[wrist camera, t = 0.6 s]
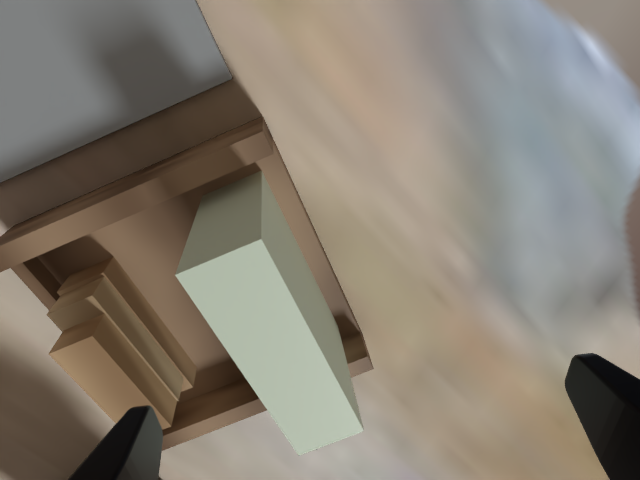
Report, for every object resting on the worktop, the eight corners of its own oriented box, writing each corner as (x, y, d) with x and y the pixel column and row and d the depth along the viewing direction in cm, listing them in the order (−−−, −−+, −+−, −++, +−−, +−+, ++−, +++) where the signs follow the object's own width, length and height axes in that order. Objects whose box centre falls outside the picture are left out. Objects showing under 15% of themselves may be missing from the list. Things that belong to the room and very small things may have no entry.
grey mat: (-8, 185, 19) (-13, 188, 19) (-165, -4, 16) (-175, -4, 15) (232, 77, 18) (231, 78, 18) (125, -149, 15) (122, -154, 14)
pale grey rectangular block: (289, 345, 24) (298, 455, 18) (202, 195, 20) (174, 275, 13) (337, 326, 24) (363, 431, 18) (261, 170, 19) (261, 238, 13)
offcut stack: (159, 382, 24) (139, 452, 20) (69, 275, 21) (23, 335, 17) (196, 367, 24) (184, 435, 20) (113, 256, 20) (77, 312, 17)
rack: (169, 409, 27) (159, 451, 24) (13, 225, 20) (-24, 256, 18) (362, 333, 26) (373, 368, 23) (262, 116, 19) (263, 131, 17)
